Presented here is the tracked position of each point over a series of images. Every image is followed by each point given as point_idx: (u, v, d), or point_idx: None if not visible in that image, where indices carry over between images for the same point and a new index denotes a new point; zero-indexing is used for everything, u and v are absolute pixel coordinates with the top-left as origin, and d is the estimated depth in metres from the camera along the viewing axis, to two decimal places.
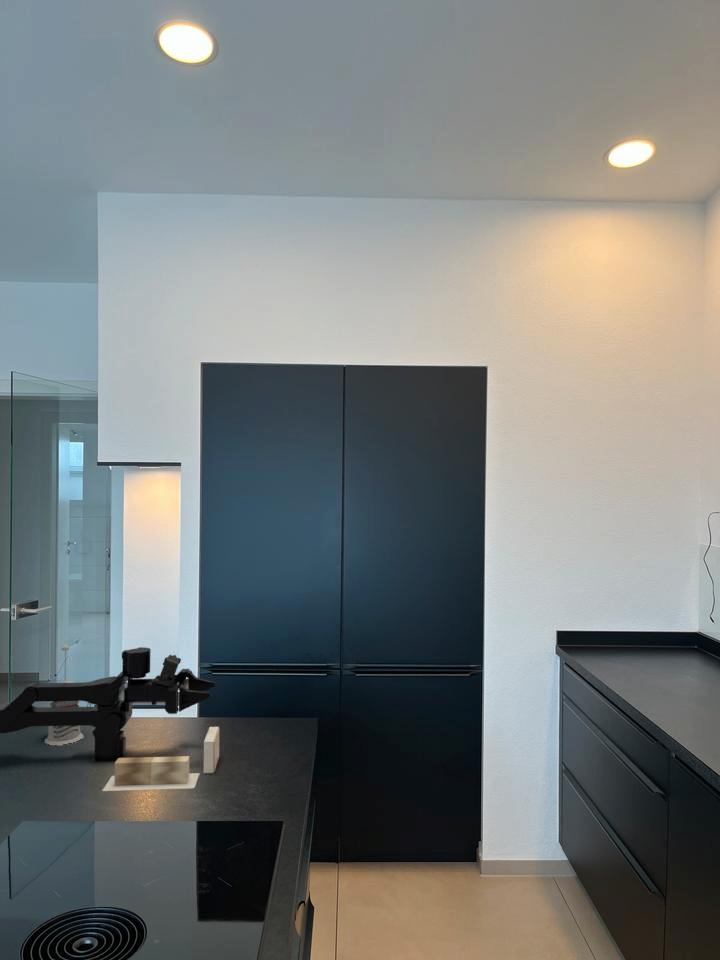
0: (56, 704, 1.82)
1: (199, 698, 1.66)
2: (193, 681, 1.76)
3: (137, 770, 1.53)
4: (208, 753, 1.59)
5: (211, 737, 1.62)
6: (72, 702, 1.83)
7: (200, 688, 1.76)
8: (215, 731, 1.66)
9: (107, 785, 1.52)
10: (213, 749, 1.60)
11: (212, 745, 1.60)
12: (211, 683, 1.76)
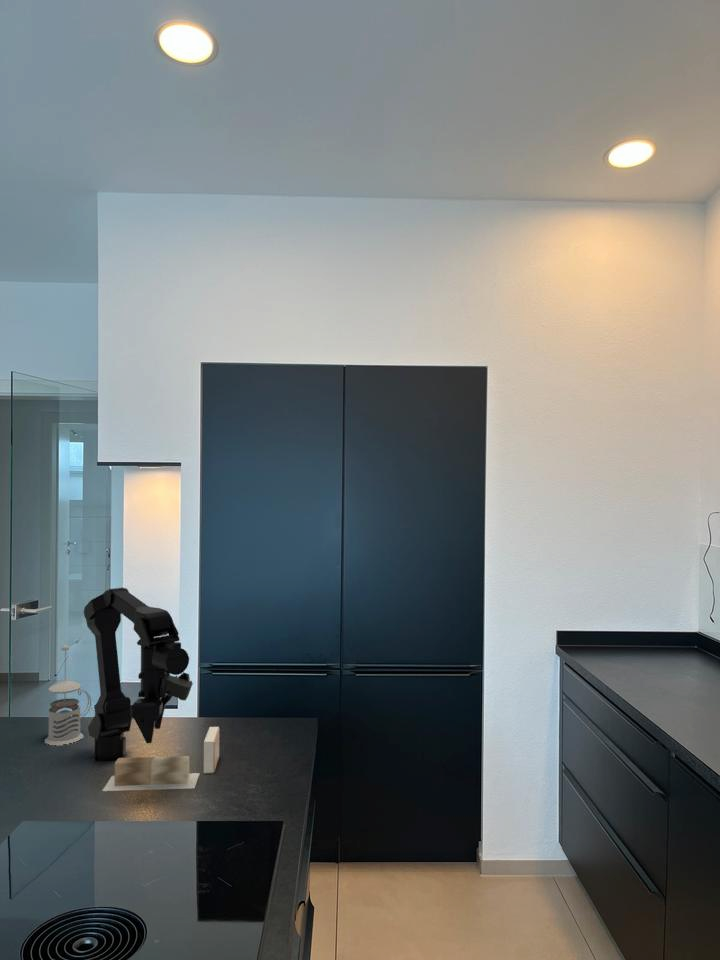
0: (56, 704, 1.82)
1: (145, 733, 1.49)
2: None
3: (137, 770, 1.53)
4: (208, 753, 1.59)
5: (211, 737, 1.62)
6: (72, 702, 1.83)
7: None
8: (215, 731, 1.66)
9: (107, 785, 1.52)
10: (213, 749, 1.60)
11: (212, 745, 1.60)
12: (159, 724, 1.59)
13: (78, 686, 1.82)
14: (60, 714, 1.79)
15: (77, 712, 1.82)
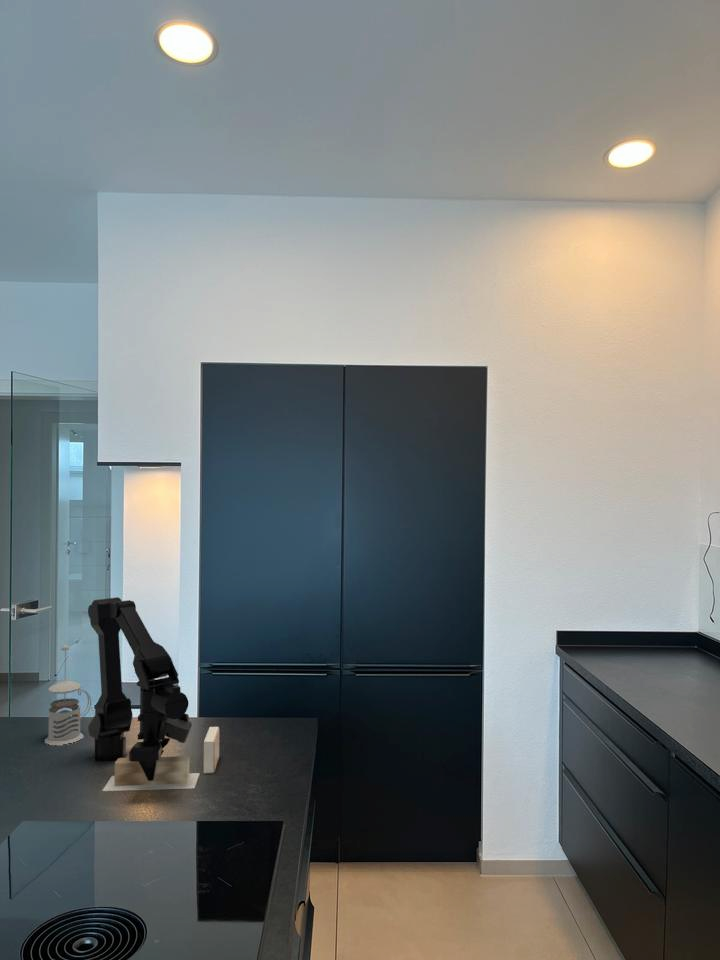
0: (56, 704, 1.82)
1: (147, 771, 1.52)
2: None
3: (137, 770, 1.53)
4: (208, 753, 1.59)
5: (211, 737, 1.62)
6: (72, 702, 1.83)
7: None
8: (215, 731, 1.66)
9: (107, 785, 1.52)
10: (213, 749, 1.60)
11: (212, 745, 1.60)
12: None
13: (78, 686, 1.82)
14: (60, 714, 1.79)
15: (77, 712, 1.82)
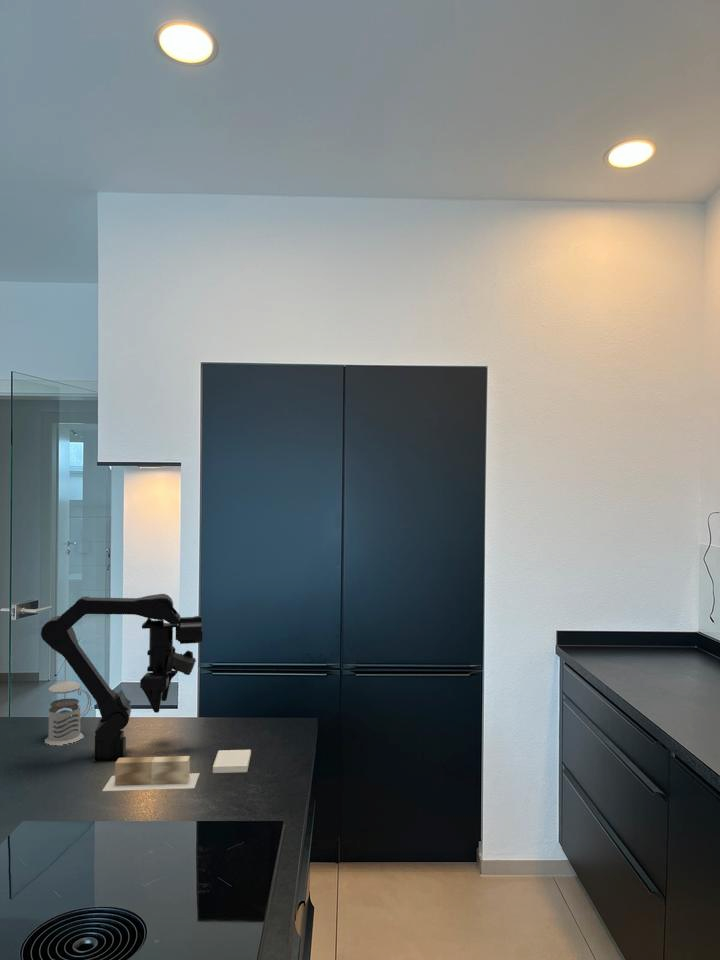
0: (56, 704, 1.82)
1: (153, 703, 1.67)
2: None
3: (138, 770, 1.53)
4: (235, 770, 1.60)
5: None
6: (72, 702, 1.83)
7: None
8: None
9: (107, 785, 1.52)
10: None
11: None
12: (165, 697, 1.77)
13: (78, 686, 1.82)
14: (60, 714, 1.79)
15: (77, 712, 1.82)
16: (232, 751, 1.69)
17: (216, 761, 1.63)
